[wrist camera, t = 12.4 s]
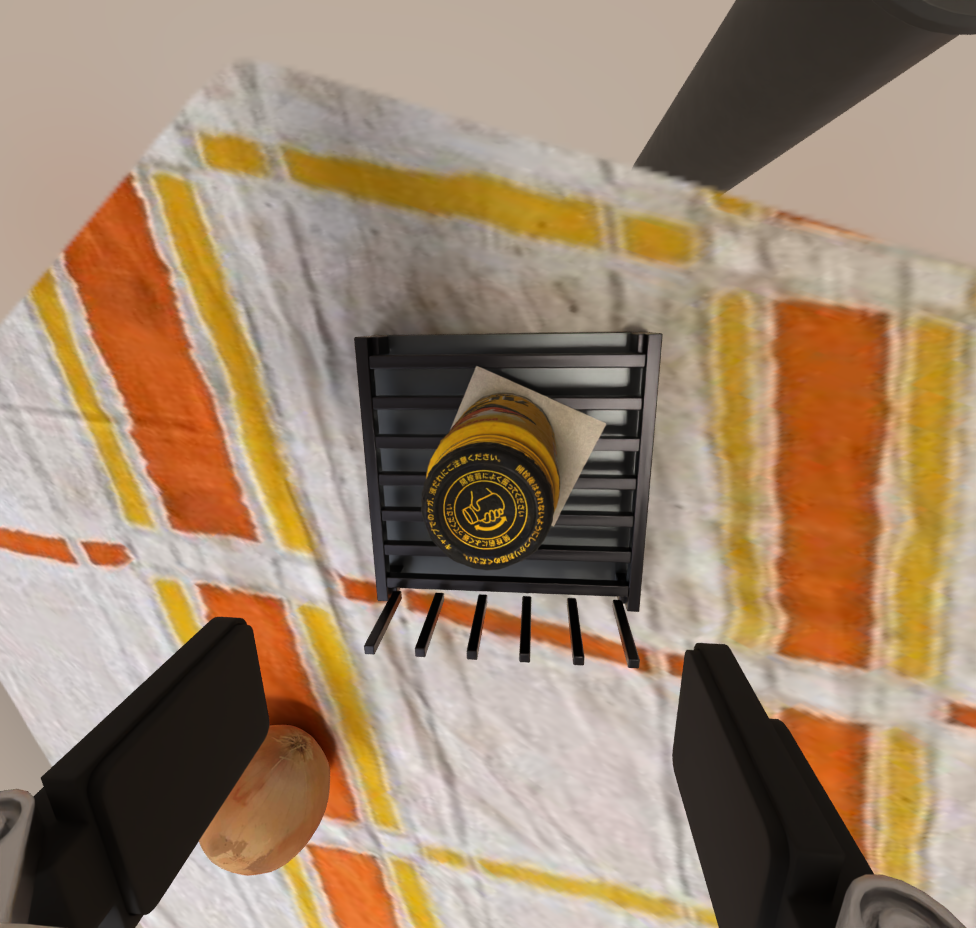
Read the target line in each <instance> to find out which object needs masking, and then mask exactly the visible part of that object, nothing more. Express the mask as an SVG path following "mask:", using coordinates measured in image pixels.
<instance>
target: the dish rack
mask: <svg viewBox="0 0 976 928" xmlns="http://www.w3.org/2000/svg"><path fill="white" fill-rule="evenodd" d="M354 341H355V352H356V363H357V375H358V386H359V397H360V408H361V419H362V431H363V442H364V453H365V464H366V476H367V487H368V498H369V509H370V520H371V532H372V543H373V554H374V565H375V577H376V588H377V599H378V601H388V602H387V603H386V605H385V607H384V609H383V611H382V613H381V615H380V617H379V619H378V620H377V622H376V624H375V626H374V628H373V630H372V632H371V634H370V636H369V637H368V639H367V641H366V643H365V645H364V650H365V654H375V652H376V650H377V648H378V646H379V644H380V642H381V640H382V638H383V636H384V634H385V632H386V630H387V628H388V626H389V623H390V621H391V619H392V617H393V615H394V613H395V611H396V609H397V607H398V605H399V603H400V601H401V599H402V595H401V591H399V590H400V588H414V589H440V590H465V591H491V592H516V593H542V594H567V595H593V596H617V598H618V600H613V605H612V607H613V611H614V615H615V619H616V623H617V626H618V630H619V634H620V638H621V642H622V645H623V649H624V653H625V657H626V661H627V665H628V667H629V668H639V662H640V659H639V656H638V653H637V649H636V646H635V643H634V639H633V636H632V633H631V630H630V626H629V623H628V620H627V616H626V613H625V610H624V606H623V604H625V605H626V609H627V611H633V612H639V608H640V596H641V584H642V572H643V560H644V548H645V536H646V525H647V513H648V501H649V489H650V477H651V465H652V453H653V442H654V430H655V418H656V406H657V394H658V382H659V371H660V359H661V347H662V334H661V333H652V332H616V333H534V334H451V335H372V336H362V337H355V338H354ZM476 366H478V367H480V368H483V369H485V370H487V371H490V372H492V373H494V374H496V375H499V376H501V377H503V378H506V379H508V380H510V381H512V382H514V383H517V384H519V385H521V386H523V387H526V388H528V389H530V390H532V391H535V392H537V393H539V394H541V395H543V396H546V397H548V398H550V399H552V400H554V401H557V402H559V403H561V404H563V405H566V406H568V407H570V408H572V409H574V410H577V411H579V412H581V413H584V414H586V415H588V416H590V417H592V418H595V419H597V420H599V421H602V422H604V423H606V426H605V427H604V429H603V431H602V433H601V435H600V437H599V439H598V441H597V442H596V444H595V446H594V448H593V450H592V453H591V454H590V456H589V458H588V460H587V462H586V464H585V465H584V467H583V469H582V472H581V474H580V475H579V477H578V479H577V481H576V483H575V485H574V487H573V489H572V491H571V493H570V495H569V497H568V499H567V501H566V503H565V505H564V507H563V509H562V511H561V513H560V515H559V517H558V519H557V521H556V523H555V525H554V526H551V527H550V529H549V532H548V534H547V536H546V538H545V540H544V541H543V543H542V544H541V546H540V547H539V548H538V549H537V551H536V552H534V553H533V554H532V555H530V556H528V557H526V559H524V560H523V561H522V562H518V563H516V564H513V565H510V566H508V567H505V568H502V569H499V570H488V571H487V570H480V569H474V568H471V567H468V566H466V565H463V564H460V563H457V562H455V561H453V560H452V559H450V558H449V557H448V556H447V555H446V554H445V553H444V552H443V551H442V550H441V549H440V548H439V547H438V546H437V545H436V544H435V543H434V542H433V541H432V540H431V538H430V537H429V533H428V531H427V529H426V526H425V523H424V520H423V516H422V512H421V508H422V502H421V499H422V491H423V487H424V482H425V480H426V475H427V471H428V465H429V462H430V459H431V458H432V456H433V454H434V452H435V451H436V449H437V448H438V446H439V444H440V441H441V440H442V439H443V438H444V437H445V436H446V435H447V434H448V433H449V431H450V429H451V427H452V424H453V422H454V419H455V417H456V414H457V412H458V410H459V407H460V405H461V402H462V400H463V398H464V395H465V393H466V390H467V388H468V385H469V383H470V380H471V378H472V376H473V373H474V371H475V368H476ZM443 602H444V593H435V596H434V599H433V601H432V604H431V607H430V609H429V612H428V615H427V617H426V620H425V623H424V625H423V628H422V631H421V633H420V636H419V639H418V642H417V644H416V647H415V656H416V657H425V656H426V653H427V650H428V647H429V644H430V641H431V638H432V635H433V632H434V629H435V626H436V623H437V620H438V617H439V614H440V611H441V608H442V605H443ZM486 606H487V595H481V594H479V595H478V600H477V605H476V610H475V614H474V619H473V624H472V628H471V633H470V638H469V642H468V647H467V659H472V660H477V657H478V652H479V646H480V640H481V635H482V629H483V623H484V618H485V612H486ZM567 610H568V619H569V629H570V638H571V648H572V657H573V664H574V665H584V651H583V644H582V637H581V630H580V623H579V615H578V608H577V601H576V598H568V599H567ZM530 641H531V597H530V596H523V597H522V615H521V634H520V653H519V661H520V662H528V663H529V662H530Z"/></svg>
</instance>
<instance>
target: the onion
mask: <svg viewBox="0 0 976 928" xmlns="http://www.w3.org/2000/svg"><path fill="white" fill-rule="evenodd" d="M329 789H330V767H329V763H328V761H327V758H326V756H325V754H324V752H323V750H322V749H321V747H320V746H319V745H318V743H317V742H316V741H315V739H314V738H313V737H312V736H310V735H309V734H308V733H306V732H305V731H304V730H302V729H300V728H297V727H295V726H291V725H270V726H269V730H268V734H267V736H266V738H265V740H264V742H263V743H262V745H261V746H260V748H259V749H258V751H257V752H256V754H255V756H254V757H253V759H252V760H251V762H250V763H249V765H248V766H247V768H246V769H245V771H244V772H243V774H242V776H241V777H240V779H239V780H238V782H237V783H236V785H235V786H234V788H233V789H232V791H231V792H230V794H229V796H228V797H227V799H226V800H225V802H224V803H223V805H222V806H221V808H220V809H219V811H218V812H217V814H216V815H215V817H214V819H213V820H212V822H211V823H210V825H209V826H208V828H207V829H206V831H205V832H204V834H203V835H202V837H201V839H200V840H199V843H200V845H201V848H202V849H203V851H204V853H205V854H206V856H207V857H208V858H209V859H210V860H211V862H213V863H214V864H215V865H217V866H219V867H220V868H222V869H224V870H227V871H230V872H232V873H237V874H241V875H257V874H263V873H268V872H272V871H274V870H276V869H278V868H280V867H282V866H283V865H285V864H286V863H288V862H289V861H290V860H291V859H292V858H293V857H295V856H296V855H297V854H298V853H299V852H300V851H301V850H302V849H303V848H304V847H305V845H306V844H307V843H308V841H309V840H310V839H311V837H312V836H313V834H314V832H315V831H316V829H317V828H318V826H319V824H320V822H321V820H322V817H323V815H324V812H325V810H326V806H327V802H328V797H329Z"/></svg>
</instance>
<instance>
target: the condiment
mask: <svg viewBox="0 0 976 928" xmlns="http://www.w3.org/2000/svg"><path fill="white" fill-rule="evenodd" d="M605 426H606V423H604V422H602V421H599V420H597V419H595V418H592V417H590V416H588V415H586V414H584V413H581V412H579V411H577V410H574V409H572V408H570V407H568V406H566V405H563V404H561V403H559V402H557V401H554V400H552V399H550V398H548V397H546V396H543V395H541V394H539V393H537V392H535V391H532V390H530V389H528V388H526V387H523V386H521V385H519V384H517V383H514V382H512V381H510V380H508V379H506V378H503V377H501V376H499V375H496V374H494V373H492V372H490V371H487V370H485V369H483V368H480V367H478V366H476V368H475V371H474V373H473V376H472V378H471V380H470V383H469V385H468V388H467V390H466V393H465V395H464V398H463V400H462V402H461V405H460V407H459V410H458V412H457V414H456V417H455V419H454V422H453V424H452V427H451V429H450V431H449V433H448V434H447V435H446V436H445V437H444V438H443V439H442V440H441V441H440V444H439V446H438V448H437V449H436V451H435V452H434V454H433V456H432V458H431V459H430V462H429V465H428V471H427V475H426V480H425V482H424V487H423V491H422V499H421V502H422V508H421V512H422V516H423V520H424V523H425V526H426V529H427V531H428V533H429V537H430V538H431V540H432V541H433V542H434V543H435V544H436V545H437V546H438V547H439V548H440V549H441V550H442V551H443V552H444V553H445V554H446V555H447V556H448V557H449V558H450V559H452V560H453V561H455V562H457V563H460V564H463V565H466V566H468V567H471V568H474V569H480V570H487V571H488V570H499V569H502V568H505V567H508V566H510V565H513V564H516V563H518V562H522V561H523V560H524V559H526V557H528V556H530V555H532V554H533V553H534V552H536V551H537V549H538V548H539V547H540V546H541V544H542V543H543V541H544V540H545V538H546V536H547V534H548V532H549V529H550V527H551V526H554V525H555V523H556V521H557V519H558V517H559V515H560V513H561V511H562V509H563V507H564V505H565V503H566V501H567V499H568V497H569V495H570V493H571V491H572V489H573V487H574V485H575V483H576V481H577V479H578V477H579V475H580V474H581V472H582V469H583V467H584V465H585V464H586V462H587V460H588V458H589V456H590V454H591V453H592V450H593V448H594V446H595V444H596V442H597V441H598V439H599V437H600V435H601V433H602V431H603V429H604V427H605Z"/></svg>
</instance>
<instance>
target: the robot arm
mask: <svg viewBox="0 0 976 928" xmlns="http://www.w3.org/2000/svg"><path fill="white" fill-rule="evenodd" d="M269 724H270V722H269V715H268V710H267V704H266V699H265V693H264V688H263V682H262V677H261V671H260V666H259V661H258V655H257V650H256V644H255V639H254V633H253V629H252V627H251V626H249V625H247V623H246V621H245V620H244V619H242V618H232V617H215V618H213V619H212V620H210V621H209V622H208V623H207V624H206V625H205V626H204V627H203V628H202V629H201V630H200V631H199V632H197V633H196V634H195V635H194V636H193V637H192V638H191V639H190V640H189V641H188V642H187V643H186V644H185V645H183V646H182V647H181V648H180V649H179V650H178V651H177V652H176V653H175V654H174V655H173V656H172V657H170V658H169V659H168V660H167V661H166V662H165V663H164V664H163V665H162V666H161V667H160V668H159V669H158V670H156V671H155V672H154V673H153V674H152V675H151V676H150V677H149V678H148V679H147V680H146V681H145V682H143V683H142V684H141V685H140V686H139V687H138V688H137V689H136V690H135V691H134V692H133V693H132V694H131V695H129V696H128V697H127V698H126V699H125V700H124V701H123V702H122V703H121V704H120V705H119V706H118V707H116V708H115V709H114V710H113V711H112V712H111V713H110V714H109V715H108V716H107V717H106V718H105V719H104V720H102V721H101V722H100V723H99V724H98V725H97V726H96V727H95V728H94V729H93V730H92V731H91V732H89V733H88V734H87V735H86V736H85V737H84V738H83V739H82V740H81V741H80V742H79V743H78V744H77V745H75V746H74V747H73V748H72V749H71V750H70V751H69V752H68V753H67V754H66V755H65V756H64V757H62V758H61V759H60V760H59V761H58V762H57V763H56V764H55V765H54V766H53V767H52V768H51V769H50V770H48V771H47V772H46V773H45V774H44V775H43V776H42V777H41V780H42V783H43V786H44V787H43V788H42V789H41V790H40V791H39V792H38V793H37V794H36V795H35V796H34V797H33V796H32V795H31V794H30V793H29V792H28V791H24V790H19V789H13V790H4V791H0V928H135V927H136V926H137V924H138V923H139V921H140V920H141V918H142V917H143V915H147V914H149V913H150V912H151V911H152V910H153V909H154V908H155V907H156V906H157V904H158V903H159V902H160V900H161V898H162V897H163V895H164V894H165V892H166V891H167V889H168V888H169V886H170V885H171V883H172V882H173V880H174V879H175V877H176V875H177V874H178V872H179V871H180V869H181V868H182V866H183V865H184V863H185V862H186V860H187V859H188V857H189V855H190V854H191V852H192V851H193V849H194V848H195V846H196V845H197V843H198V842H199V840H200V839H201V837H202V835H203V834H204V832H205V831H206V829H207V828H208V826H209V825H210V823H211V822H212V820H213V819H214V817H215V815H216V814H217V812H218V811H219V809H220V808H221V806H222V805H223V803H224V802H225V800H226V799H227V797H228V796H229V794H230V792H231V791H232V789H233V788H234V786H235V785H236V783H237V782H238V780H239V779H240V777H241V776H242V774H243V772H244V771H245V769H246V768H247V766H248V765H249V763H250V762H251V760H252V759H253V757H254V756H255V754H256V752H257V751H258V749H259V748H260V746H261V745H262V743H263V742H264V740H265V738H266V736H267V734H268V730H269ZM672 757H673V768H674V773H675V776H676V780H677V783H678V787H679V790H680V794H681V797H682V801H683V804H684V808H685V811H686V815H687V818H688V822H689V825H690V829H691V832H692V836H693V839H694V843H695V846H696V850H697V853H698V856H699V860H700V863H701V867H702V870H703V874H704V877H705V881H706V884H707V888H708V891H709V895H710V898H711V902H712V905H713V909H714V912H715V916H716V919H717V923H718V926H719V928H966V927H965V926H964V925H963V924H962V923H961V922H960V921H959V920H958V919H957V918H956V917H955V916H954V915H953V914H952V913H951V912H950V911H949V910H948V909H947V908H945V907H944V906H943V905H941V904H940V903H939V902H937V901H936V900H934V899H933V898H932V897H930V896H929V895H928V894H926V893H925V892H923V891H921V890H919V889H917V888H916V887H914V886H912V885H910V884H908V883H906V882H904V881H902V880H898V879H895V878H892V877H888V876H885V875H874V873H873V871H872V870H871V868H870V866H869V865H868V863H867V861H866V860H865V858H864V856H863V854H862V853H861V851H860V849H859V848H858V846H857V844H856V843H855V841H854V839H853V838H852V836H851V834H850V832H849V831H848V829H847V827H846V826H845V824H844V822H843V821H842V819H841V817H840V816H839V814H838V812H837V810H836V809H835V807H834V805H833V804H832V802H831V800H830V799H829V797H828V795H827V794H826V792H825V790H824V789H823V787H822V785H821V783H820V782H819V780H818V778H817V777H816V775H815V773H814V772H813V770H812V768H811V767H810V765H809V763H808V761H807V760H806V758H805V756H804V755H803V753H802V751H801V750H800V748H799V746H798V745H797V743H796V741H795V739H794V738H793V736H792V734H791V733H790V731H789V730H788V728H787V727H786V725H785V724H784V723H783V722H782V721H780V720H779V719H769V718H768V716H767V714H766V712H765V710H764V709H763V707H762V705H761V703H760V701H759V700H758V698H757V696H756V694H755V692H754V691H753V689H752V687H751V685H750V684H749V682H748V680H747V678H746V676H745V675H744V673H743V671H742V669H741V667H740V666H739V664H738V662H737V660H736V658H735V657H734V655H733V653H732V651H731V650H730V648H729V647H728V646H727V645H725V644H708V643H697V644H696V645H695V647H694V650H686V652H685V656H684V664H683V672H682V680H681V688H680V696H679V704H678V712H677V720H676V728H675V736H674V744H673V754H672Z"/></svg>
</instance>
